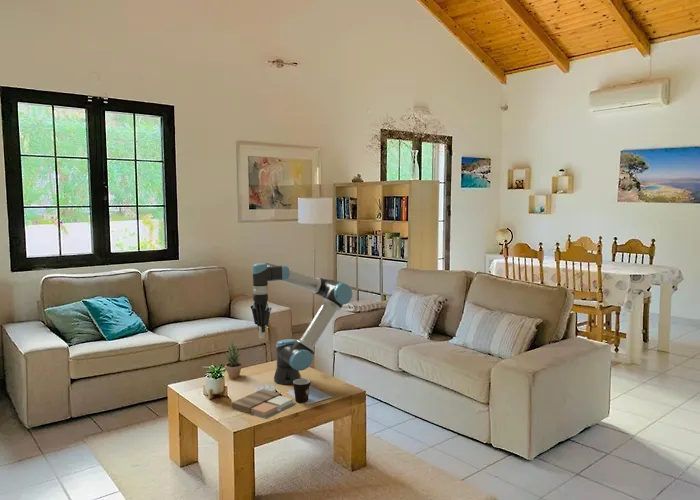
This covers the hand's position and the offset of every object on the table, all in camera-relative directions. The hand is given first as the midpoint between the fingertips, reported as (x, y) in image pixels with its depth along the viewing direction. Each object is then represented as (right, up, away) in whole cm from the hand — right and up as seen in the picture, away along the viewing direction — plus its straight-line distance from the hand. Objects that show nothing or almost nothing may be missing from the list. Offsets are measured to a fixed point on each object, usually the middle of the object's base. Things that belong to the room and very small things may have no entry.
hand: (261, 338), depth 283 cm
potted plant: (-21, -28, +32) cm, 47 cm away
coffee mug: (+23, -31, -5) cm, 39 cm away
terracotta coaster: (+4, -32, -20) cm, 38 cm away
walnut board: (-1, -32, -9) cm, 33 cm away
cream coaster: (+11, -31, -11) cm, 35 cm away
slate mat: (+8, -32, -16) cm, 37 cm away
